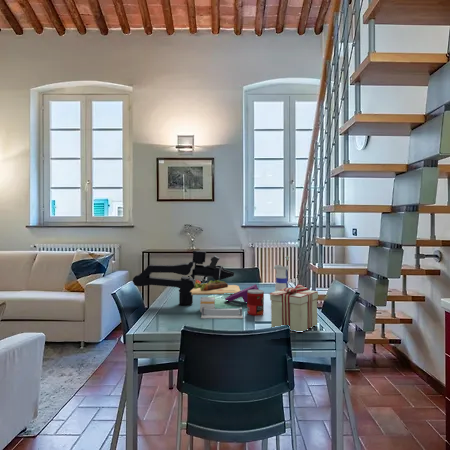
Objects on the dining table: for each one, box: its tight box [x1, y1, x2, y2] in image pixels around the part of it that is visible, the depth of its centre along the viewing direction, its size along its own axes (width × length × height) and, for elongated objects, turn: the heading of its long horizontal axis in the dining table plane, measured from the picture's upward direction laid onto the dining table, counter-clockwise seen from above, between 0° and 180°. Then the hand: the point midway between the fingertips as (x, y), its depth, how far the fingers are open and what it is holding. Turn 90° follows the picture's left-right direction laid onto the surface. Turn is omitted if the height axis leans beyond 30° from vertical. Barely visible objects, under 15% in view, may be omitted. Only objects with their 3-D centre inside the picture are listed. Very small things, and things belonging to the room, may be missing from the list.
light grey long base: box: [200, 306, 244, 319], centre depth 181 cm, size 19×9×4 cm, turn 91°
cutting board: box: [190, 279, 241, 296], centre depth 241 cm, size 35×23×8 cm
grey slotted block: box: [199, 296, 216, 313], centre depth 191 cm, size 7×6×6 cm
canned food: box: [246, 289, 265, 317], centre depth 185 cm, size 8×8×11 cm
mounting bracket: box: [224, 283, 260, 303], centre depth 209 cm, size 9×8×18 cm
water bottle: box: [272, 255, 291, 292], centre depth 214 cm, size 8×9×25 cm
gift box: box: [269, 284, 319, 331], centre depth 164 cm, size 17×18×17 cm
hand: (233, 274), depth 203 cm, fingers open, 9 cm apart
